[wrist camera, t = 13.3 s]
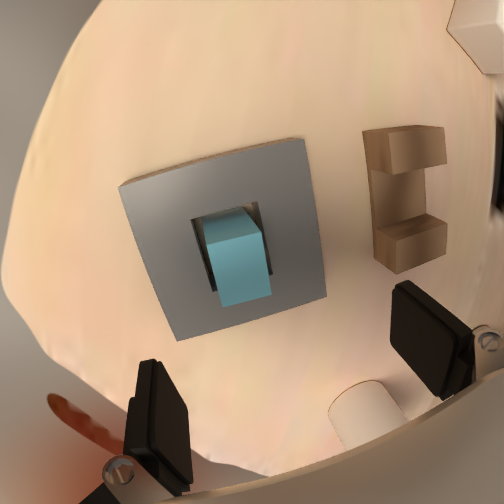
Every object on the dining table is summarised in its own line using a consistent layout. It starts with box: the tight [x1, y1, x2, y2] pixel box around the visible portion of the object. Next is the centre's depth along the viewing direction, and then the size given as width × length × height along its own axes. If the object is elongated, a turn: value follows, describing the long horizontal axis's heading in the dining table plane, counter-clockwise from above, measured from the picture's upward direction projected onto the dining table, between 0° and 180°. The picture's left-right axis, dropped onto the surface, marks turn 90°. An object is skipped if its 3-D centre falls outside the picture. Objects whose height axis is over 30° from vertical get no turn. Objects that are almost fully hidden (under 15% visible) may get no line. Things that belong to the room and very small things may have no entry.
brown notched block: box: [362, 125, 447, 274], centre depth 22 cm, size 6×11×4 cm, turn 12°
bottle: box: [328, 381, 409, 451], centre depth 21 cm, size 8×8×30 cm
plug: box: [201, 206, 272, 307], centre depth 20 cm, size 3×4×6 cm
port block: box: [118, 138, 327, 341], centre depth 21 cm, size 12×12×2 cm
